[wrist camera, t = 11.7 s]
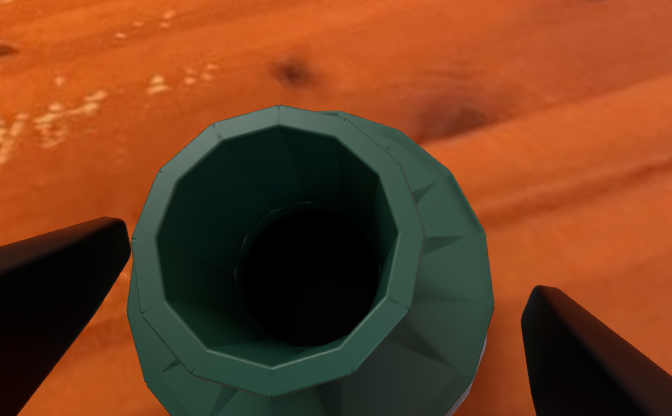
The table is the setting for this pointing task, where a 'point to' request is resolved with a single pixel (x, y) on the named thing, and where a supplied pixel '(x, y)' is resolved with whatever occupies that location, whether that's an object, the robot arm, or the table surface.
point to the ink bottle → (307, 273)
